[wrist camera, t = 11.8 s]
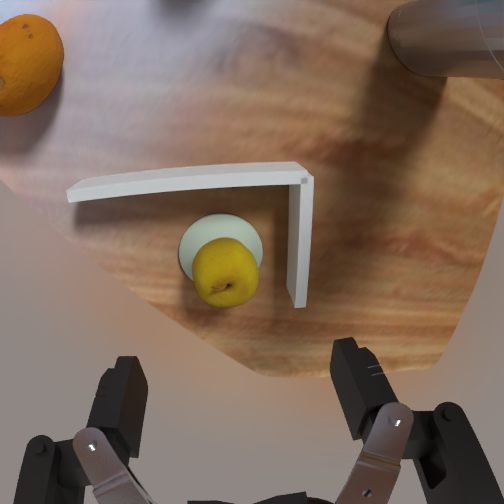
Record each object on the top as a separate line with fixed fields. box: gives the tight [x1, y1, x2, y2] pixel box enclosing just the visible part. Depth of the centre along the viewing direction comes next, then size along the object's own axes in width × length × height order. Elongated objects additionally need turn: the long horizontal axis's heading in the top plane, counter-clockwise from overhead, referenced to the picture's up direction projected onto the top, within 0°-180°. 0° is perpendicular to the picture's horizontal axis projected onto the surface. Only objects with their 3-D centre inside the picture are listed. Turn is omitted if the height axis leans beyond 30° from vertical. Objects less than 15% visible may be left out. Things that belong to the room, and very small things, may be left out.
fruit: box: [0, 14, 64, 117], centre depth 19 cm, size 10×10×8 cm
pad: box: [179, 213, 263, 282], centre depth 35 cm, size 9×9×1 cm
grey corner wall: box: [66, 162, 314, 308], centre depth 32 cm, size 23×15×4 cm, turn 91°
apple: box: [192, 237, 259, 308], centre depth 31 cm, size 6×6×8 cm
